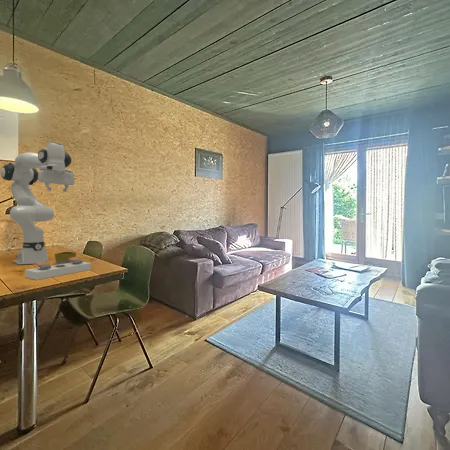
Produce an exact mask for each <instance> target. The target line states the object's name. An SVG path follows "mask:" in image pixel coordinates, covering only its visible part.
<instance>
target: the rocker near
mask: <svg viewBox="0 0 450 450" xmlns="http://www.w3.org/2000/svg"><path fill="white" fill-rule="evenodd" d="M34 265H35V266H36V267H37V268H41V269H49V268H51V266H52V265H50V264H48V263H47V262H37V263H35V264H34Z"/></svg>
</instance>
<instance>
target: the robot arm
mask: <svg viewBox="0 0 450 450" xmlns="http://www.w3.org/2000/svg"><path fill="white" fill-rule="evenodd" d="M72 162H73V161H72V157H71V155H70V154H69V153H68V152H66V151H65V147H64V145H63V144H62V143H59V142H53V141H51V142H48V145H47V146H46V147H45V148H42V149H40V150H39V151H38V153H36V152H29V151H28V152H23V153H21V154H20V153H19V155H17V156H16V157H15V159H14V163H12V162H8V164H4V165H3V166H2V167H1V168H0V177H1V178H2V179H3V180H4V181H12V183H11V185H10V192H11V194H12V197H13V199H14V200H15V203H16V204H17V205H16V206H13V207H11V209H10V210H9V216H10V218H11V220H12V221H14V222H15V223H17V225H18V226H20V228H21V230H22V233H23V235H22V236H23V242H22V248H21V250H20V251H19V252H18V253H16V258H17V259H14V260H13V263H14V264H17V265H35V263H37V262H45V263H47V262H48V261H50V258H48V252H47V251H48V250H47V248H45V246H46V245H45V244H46V243H45V241H44V237H45V236H44V230H43V229H42V228H41V227H38V226H36V225H35V222H39V223H40V222H43V223H44V222H48V221H52V220H53V219H54V217H55V211H54V209H53V208H52V207H50V206H48V205H45V204H44V203H42V202H41V201H39V200H38V199H37V198H36V197H35V195H34V193H33V191H32V190H31V188H30V186H33V185H34V184H35V183H36V182H37V181H38V182H39V183H44V185H45V187H46V190H47V191H50V192H51V191H52V187H50V184H56V185H64V188H63V189H62V191H63V192H65V193H66V192H68V188H69V186H74V185H75V178H74V175H75V174H74V172H73V171H72V170H67V169H66V168H68V167H69V166H70V165H71V164H72ZM38 168H39V170H37V169H38Z"/></svg>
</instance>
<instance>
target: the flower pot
mask: <svg viewBox="0 0 450 450" xmlns="http://www.w3.org/2000/svg"><path fill="white" fill-rule="evenodd" d="M76 256H77V252H76V251H63V252H57V253H54V259H55V263H56V262H60V261H66V260H67V261H68V262H67V263H72V261H70V260H69V258H72V257H76ZM76 258H77V257H76ZM63 264H65V263H63ZM58 265H59V264H58Z"/></svg>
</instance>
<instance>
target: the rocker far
mask: <svg viewBox="0 0 450 450" xmlns="http://www.w3.org/2000/svg"><path fill="white" fill-rule="evenodd" d="M69 260H70V261H72V262H73V263H75V264H79V263H83V262H84V260H81V259H80V258H78V257H72V258H69Z"/></svg>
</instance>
